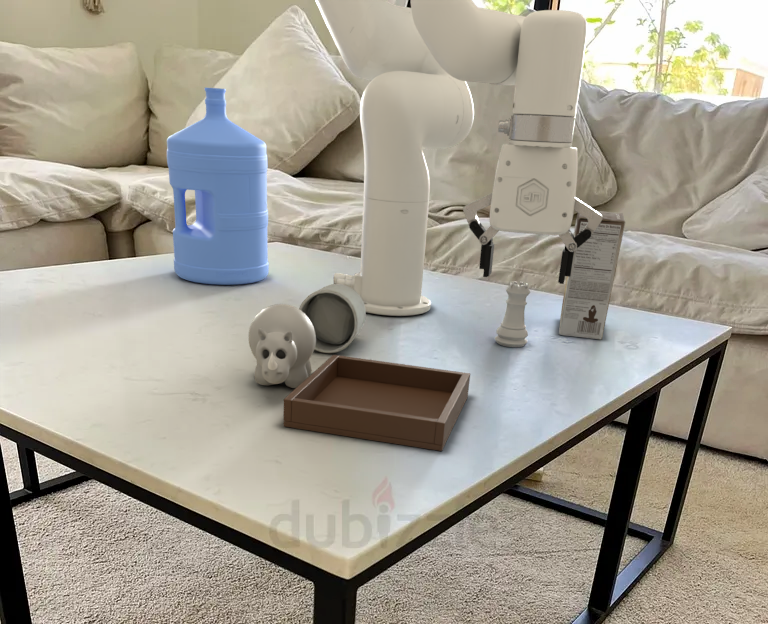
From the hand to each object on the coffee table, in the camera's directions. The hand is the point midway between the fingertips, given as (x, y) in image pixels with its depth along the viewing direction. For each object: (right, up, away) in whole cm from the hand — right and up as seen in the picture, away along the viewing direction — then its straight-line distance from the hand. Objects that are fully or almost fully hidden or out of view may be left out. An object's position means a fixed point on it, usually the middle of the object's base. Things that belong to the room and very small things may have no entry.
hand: (523, 278), depth 102 cm
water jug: (-46, +9, +31) cm, 56 cm away
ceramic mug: (-26, -9, -1) cm, 28 cm away
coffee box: (+11, -4, +13) cm, 17 cm away
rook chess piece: (-1, -8, +5) cm, 9 cm away
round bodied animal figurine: (-30, -17, -17) cm, 38 cm away
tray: (-19, -20, -21) cm, 34 cm away
